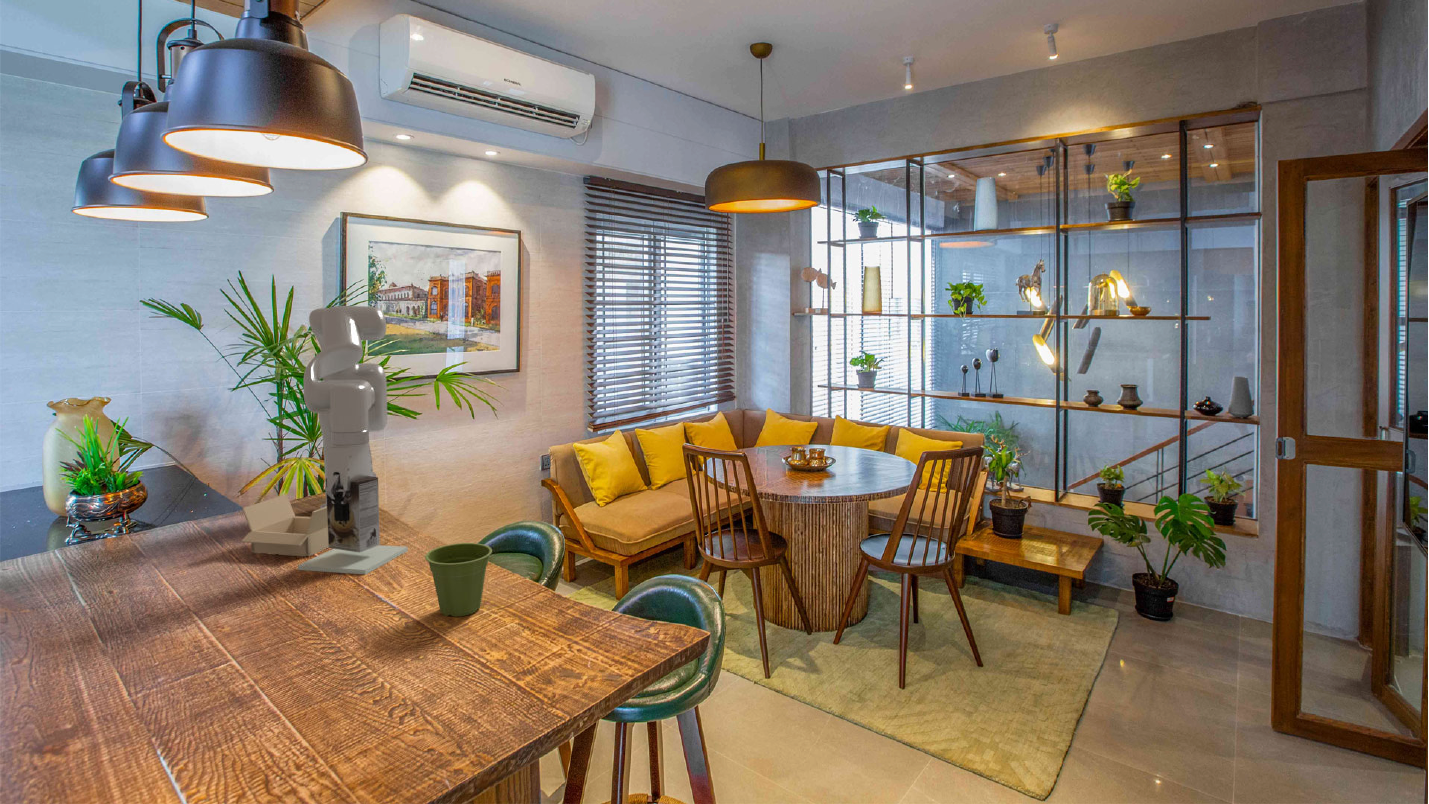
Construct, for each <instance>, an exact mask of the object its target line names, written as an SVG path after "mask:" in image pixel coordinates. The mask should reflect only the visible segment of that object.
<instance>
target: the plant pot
mask: <svg viewBox="0 0 1429 804" xmlns="http://www.w3.org/2000/svg"><path fill="white" fill-rule="evenodd" d="M492 553H493V549H492V547H490V546H489V545H487V544H482V543H477V542H476V543H475V542H460V543H453V544H446V545H442V546H438V547H435V548H433V549H431V550H429V551H427V553H426V554H425V555H424V559H425V560H426V562H428V564H429V568H430V569H429V570H430V572H431V574H432V578H433V581H434V582H433V583H434V588H435V592H436V597H437V603H438V607H439V611H440V613H441V614H442V615H443V616H453V617H457V616H460V617H465V616H469V614H470V615H471V614H474V613H476V612H477V610H480V608H481V605H482V599H483V598H482V597H483V591H484V586H485V584H484V583H485V577H486V572H487V571H486V570H487V567H488V566H489V565H488V564H489V557H490V556H491V554H492ZM457 618H458V617H457Z"/></svg>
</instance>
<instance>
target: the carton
mask: <svg viewBox="0 0 1429 804" xmlns="http://www.w3.org/2000/svg"><path fill="white" fill-rule="evenodd" d="M241 509H242V512H243V515H244V517H245V520H246V522H247V525H248V528H249V530H250V531H249V532H248V533H247V534H246V535H245V536H244V538H243V539H242V540H241V543H247V544H250V546H251V547H250V550H251V553H252V554H260V553H270V554H269V555H275V554H279V555H280V556H293V557H295V556H296V557H306V556H309V557H311V556H313V554H314V553H316V554H318V553H320V552H322V551H324V549H325V550H327V549H330V548H329V543H328V519H327V507H324V508H321V509H320V508H318V509H316V510H314V511H312V513H311V516H305V515H302V516H301V515H296V514H295V512H294V510H293V507H292V504H291V502H290V499H289V497H288V494H287V493H285V494H283V495H280V496H277V497H273V498H270V499H267V500H263V501H261V502H260V501H259V502H258V503H254V504H251V505H248V506H247V505H246V506H244V507H242V508H241ZM326 548H327V549H326ZM279 555H278V556H279ZM314 555H315V554H314Z"/></svg>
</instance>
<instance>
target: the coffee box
mask: <svg viewBox="0 0 1429 804" xmlns="http://www.w3.org/2000/svg"><path fill="white" fill-rule="evenodd" d="M326 488H327V479H326ZM339 489H344V488H343V486H339ZM326 496H327V519H328V543H329V548H328V549H331V550H332V549H339V550H346V551H353V552H363V551H365V550H368V549H370V548H373V547H376V546H378V545H381V544H380V540H381V539H380V506H379V505H380V503H379V501H380V500H379V477H378V476H376V477H371V476H367V477H364V478H360V479H357V480H354V481H351V487H350V491H348V499H347V502H346V503H349V521H335V517H334V504H333V503H332V500H331V499H330V498H329V496H328V494H327V493H326V492H325V497H326ZM340 496H341V497H342V496H343V493H340Z"/></svg>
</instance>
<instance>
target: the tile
mask: <svg viewBox="0 0 1429 804" xmlns="http://www.w3.org/2000/svg"><path fill="white" fill-rule="evenodd" d="M408 551H409V550H408V546H400V545H399V546H397V545H385V544H384V545H382V544H380V545H378V546H376V547H373V548H370V549H368V550H365V551H363V552H353V551H346V550H339V549H332V548H331V550H327V551H326V552H324V553H321V554H319V555H317V556H314V557H313V558H310V559H309V560H308V559H307V560H306V561H304V562H302V563H300V564H297V570H298V571H307V572H323V573H325V572H326V573H339V574H352V575H365V576H366V575H367V574H369V573H371V572H372V571H375V570H377V569H378V568H380V567H382V566H384V565H386V564H387V563H388V562H390V561H392V559H393V560H394V559H397V558H398V557H400V556H402V555H403V554H405V553H407V552H408ZM401 554H402V555H401ZM397 556H398V557H397Z"/></svg>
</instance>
